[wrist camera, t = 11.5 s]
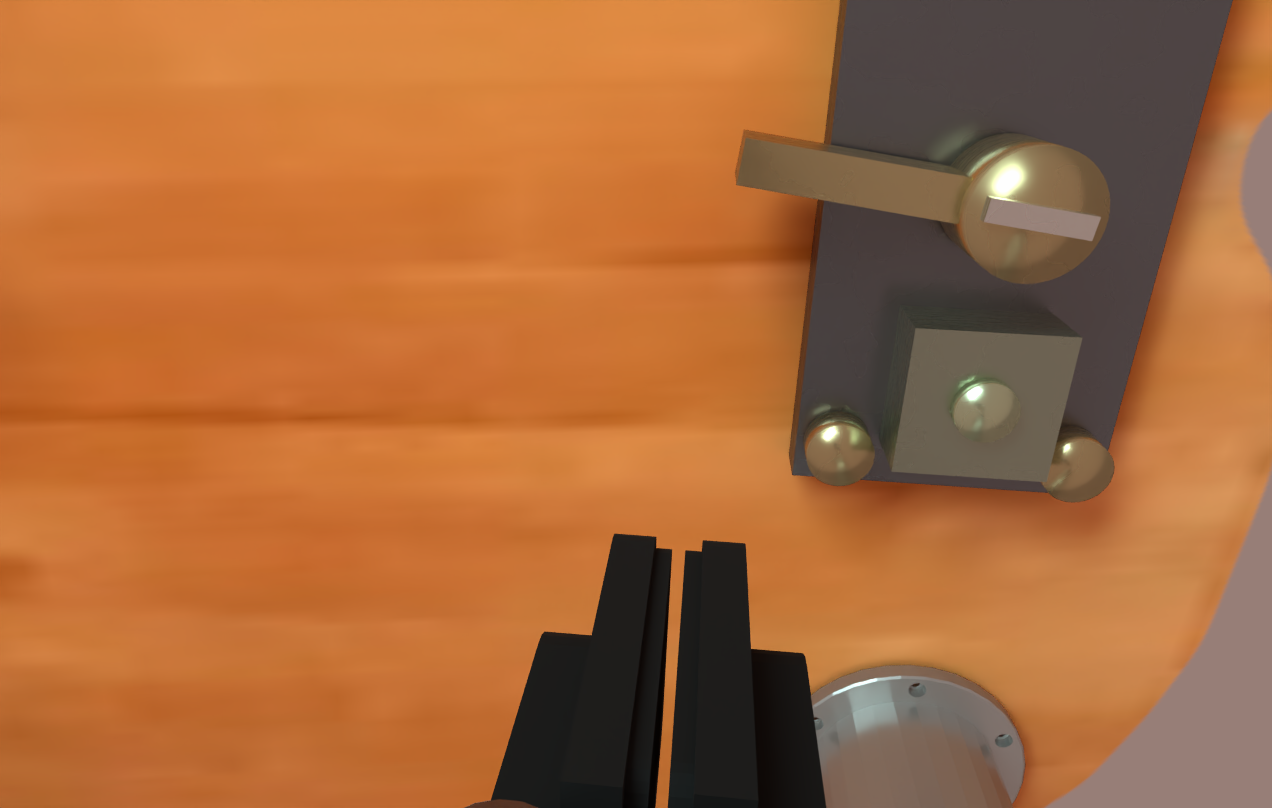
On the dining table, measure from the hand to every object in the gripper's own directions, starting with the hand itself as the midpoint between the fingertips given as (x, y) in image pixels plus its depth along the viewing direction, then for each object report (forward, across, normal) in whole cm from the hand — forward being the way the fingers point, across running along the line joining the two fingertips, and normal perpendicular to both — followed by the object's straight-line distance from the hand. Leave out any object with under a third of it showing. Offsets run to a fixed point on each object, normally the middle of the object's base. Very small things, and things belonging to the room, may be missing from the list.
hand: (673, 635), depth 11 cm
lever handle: (+25, -7, -2) cm, 26 cm away
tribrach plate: (+27, -11, 0) cm, 29 cm away
